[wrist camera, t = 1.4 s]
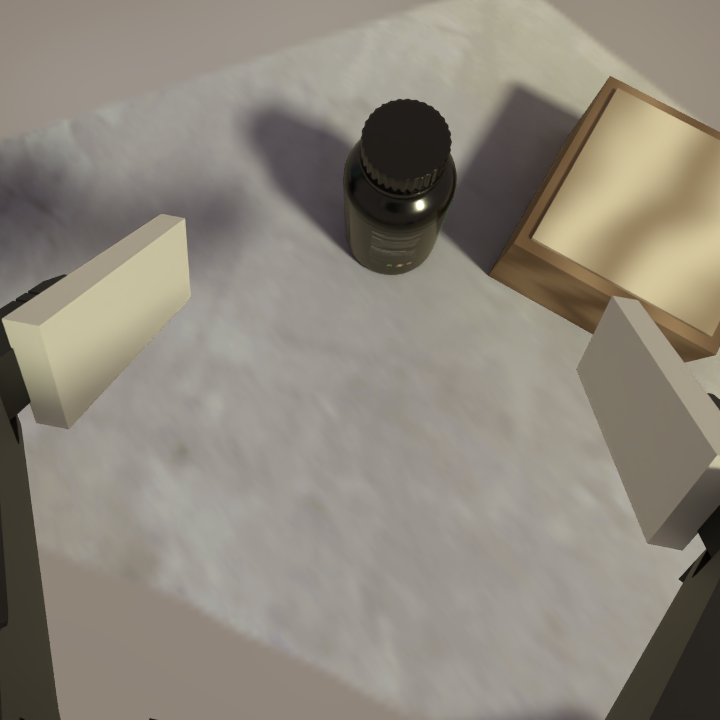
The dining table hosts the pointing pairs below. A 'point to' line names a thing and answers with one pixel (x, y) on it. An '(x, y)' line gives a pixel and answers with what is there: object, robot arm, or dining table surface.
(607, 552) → the dining table surface
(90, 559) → the dining table surface
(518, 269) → the walnut riser block
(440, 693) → the dining table surface
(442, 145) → the supplement bottle
